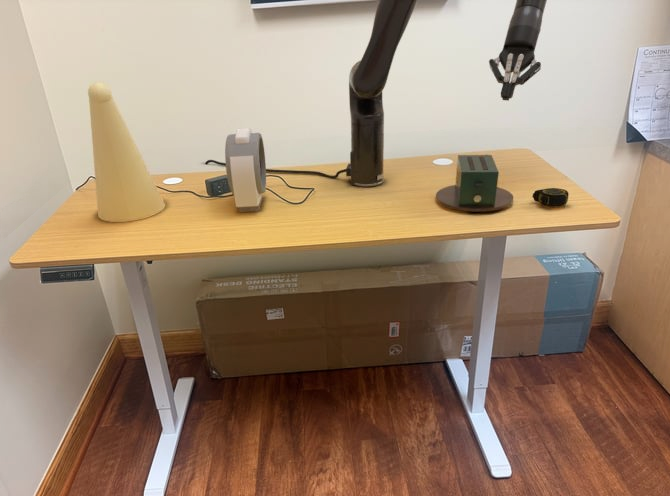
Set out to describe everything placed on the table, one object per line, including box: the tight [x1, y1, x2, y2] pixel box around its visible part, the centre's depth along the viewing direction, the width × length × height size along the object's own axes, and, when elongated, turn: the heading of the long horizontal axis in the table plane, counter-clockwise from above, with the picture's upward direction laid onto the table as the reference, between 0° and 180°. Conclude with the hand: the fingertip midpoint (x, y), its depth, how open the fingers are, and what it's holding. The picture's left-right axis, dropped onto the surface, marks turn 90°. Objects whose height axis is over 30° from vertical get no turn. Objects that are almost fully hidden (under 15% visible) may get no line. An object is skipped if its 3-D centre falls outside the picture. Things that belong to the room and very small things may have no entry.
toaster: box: [435, 154, 515, 213], centre depth 135 cm, size 19×19×9 cm
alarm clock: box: [224, 127, 267, 213], centre depth 141 cm, size 18×8×20 cm, turn 179°
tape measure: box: [532, 187, 569, 208], centre depth 131 cm, size 7×7×4 cm
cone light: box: [87, 81, 166, 223], centre depth 137 cm, size 25×18×35 cm
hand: (505, 99), depth 133 cm, fingers closed
